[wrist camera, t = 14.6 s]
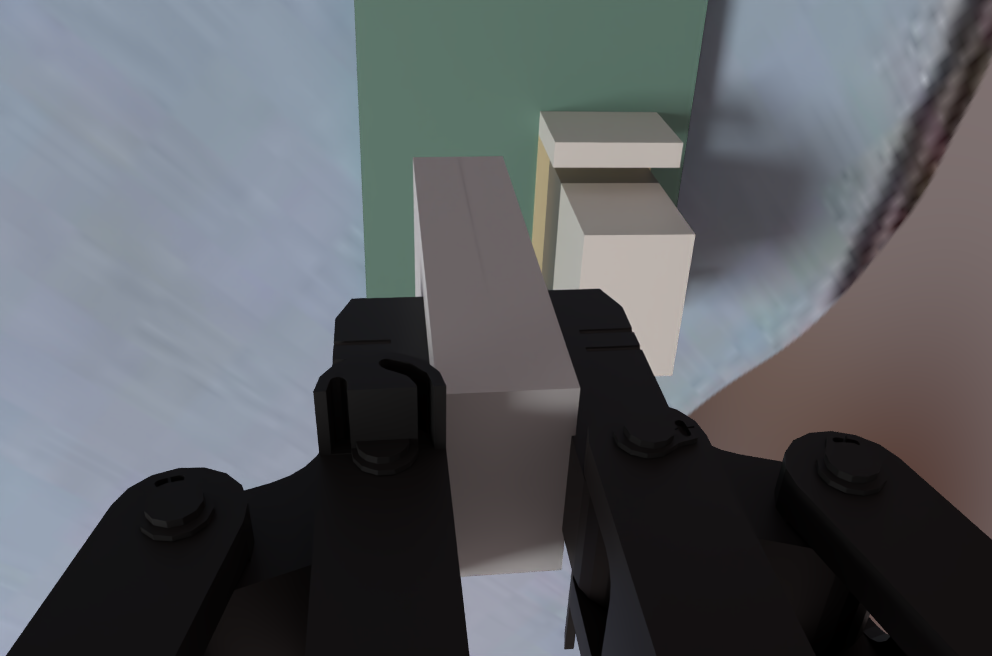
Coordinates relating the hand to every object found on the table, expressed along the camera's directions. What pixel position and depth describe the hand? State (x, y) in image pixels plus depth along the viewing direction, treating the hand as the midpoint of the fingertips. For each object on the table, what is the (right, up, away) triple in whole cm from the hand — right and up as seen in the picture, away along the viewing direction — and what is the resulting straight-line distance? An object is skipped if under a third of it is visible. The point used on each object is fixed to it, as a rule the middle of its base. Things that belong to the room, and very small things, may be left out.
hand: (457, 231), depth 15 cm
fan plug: (+5, +3, +24) cm, 25 cm away
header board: (+2, +7, +24) cm, 25 cm away
